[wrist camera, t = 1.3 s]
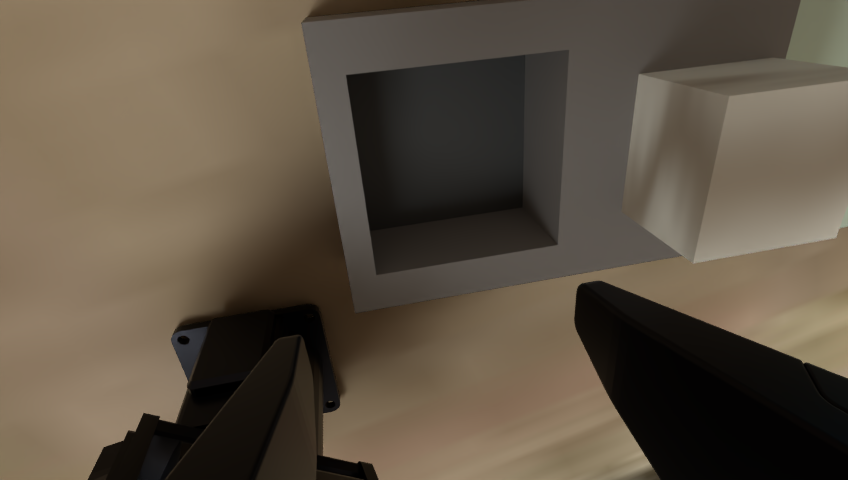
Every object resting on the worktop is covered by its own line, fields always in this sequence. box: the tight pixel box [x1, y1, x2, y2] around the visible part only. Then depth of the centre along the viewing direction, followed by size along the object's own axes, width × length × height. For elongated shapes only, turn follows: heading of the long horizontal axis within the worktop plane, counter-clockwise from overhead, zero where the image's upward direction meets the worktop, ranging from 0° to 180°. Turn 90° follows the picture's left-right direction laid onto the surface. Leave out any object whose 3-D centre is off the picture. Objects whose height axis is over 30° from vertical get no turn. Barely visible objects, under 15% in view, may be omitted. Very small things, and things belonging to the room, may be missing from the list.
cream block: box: [621, 58, 848, 263], centre depth 15 cm, size 5×5×4 cm
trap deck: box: [301, 0, 848, 313], centre depth 19 cm, size 10×34×4 cm, turn 95°
